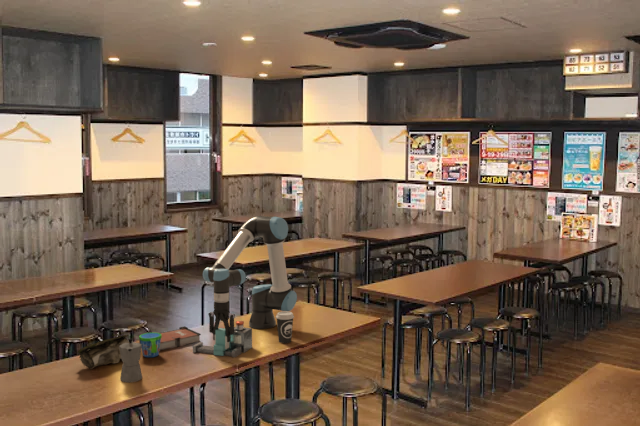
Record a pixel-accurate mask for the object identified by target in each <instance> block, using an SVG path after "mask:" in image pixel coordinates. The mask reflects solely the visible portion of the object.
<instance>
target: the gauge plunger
mask: <svg viewBox="0 0 640 426" xmlns="http://www.w3.org/2000/svg"><path fill="white" fill-rule="evenodd" d="M244 323H245V321H244V320H237V321H235V327H236V331H243V327H244Z"/></svg>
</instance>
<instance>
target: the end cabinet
mask: <svg viewBox="0 0 640 426" xmlns="http://www.w3.org/2000/svg"><path fill="white" fill-rule="evenodd" d="M230 342H231V349H235V348H237V347H242V353H243V354H244V353H246V352H248V351H249V350H251V349H252V348H253V328H252V327H244V326H243V331H236V326H234V334H232V335H231V341H230ZM242 353H241V354H242Z"/></svg>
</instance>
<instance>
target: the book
mask: <svg viewBox="0 0 640 426" xmlns="http://www.w3.org/2000/svg"><path fill="white" fill-rule="evenodd" d="M159 333H160V334H161V335H162V338H161V340H160V349H159V351H164V350H169V349H172V348H173V349H174V348H178V347H183V346H187V345H191V344H197V343H199V342H202V341H201V339H200V338H201V337H200V336H201V335H202V334H201V333H199V332H198V331H195V330H193V329H190V328H188V327H187V326H180V327H179V328H178V329H174V330H169V331H165V332H164V331H163V332H159ZM138 335H139V336H140V335H141V334H138ZM139 336H138V337H139ZM138 341H139V342H138V343H140V340H139V339H138ZM140 344H141V343H140Z"/></svg>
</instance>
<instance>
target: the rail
mask: <svg viewBox="0 0 640 426" xmlns="http://www.w3.org/2000/svg"><path fill="white" fill-rule="evenodd" d="M192 353H201V354H210V355H214V346H212V345H204V343H203V342H202V341H201V342H196V343H194V345H192ZM241 354H242V347H237V348H235V349H227V350H225V351H224V356H226V357H232V358H237V357H239V356H240V355H241Z"/></svg>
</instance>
